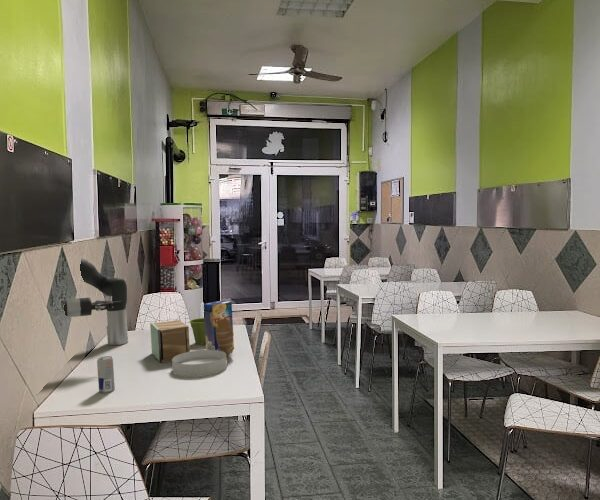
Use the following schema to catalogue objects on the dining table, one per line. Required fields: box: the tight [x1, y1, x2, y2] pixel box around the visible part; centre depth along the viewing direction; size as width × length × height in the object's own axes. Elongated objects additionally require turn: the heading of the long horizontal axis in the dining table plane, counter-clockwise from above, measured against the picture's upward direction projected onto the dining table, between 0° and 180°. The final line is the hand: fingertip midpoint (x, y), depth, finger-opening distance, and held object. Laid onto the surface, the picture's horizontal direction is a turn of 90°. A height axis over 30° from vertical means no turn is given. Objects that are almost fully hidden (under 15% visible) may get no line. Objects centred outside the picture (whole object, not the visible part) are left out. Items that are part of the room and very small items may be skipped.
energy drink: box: [96, 355, 116, 394], centre depth 184 cm, size 5×5×12 cm
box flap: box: [149, 322, 163, 363], centre depth 226 cm, size 19×1×14 cm, turn 26°
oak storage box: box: [153, 319, 191, 363], centre depth 229 cm, size 18×12×14 cm, turn 26°
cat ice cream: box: [216, 315, 234, 357], centre depth 224 cm, size 9×8×18 cm
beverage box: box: [203, 300, 235, 351], centre depth 235 cm, size 7×11×22 cm, turn 138°
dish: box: [171, 349, 228, 378], centre depth 208 cm, size 22×22×5 cm
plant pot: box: [188, 317, 206, 345], centre depth 252 cm, size 12×12×11 cm
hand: (122, 303), depth 222 cm, fingers closed
